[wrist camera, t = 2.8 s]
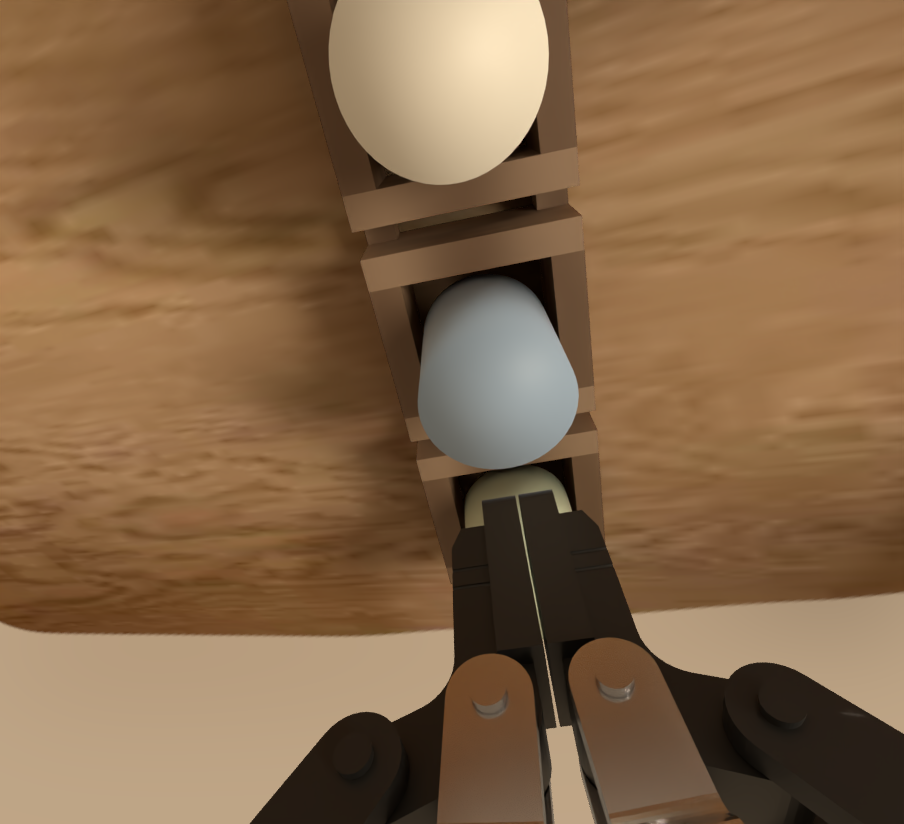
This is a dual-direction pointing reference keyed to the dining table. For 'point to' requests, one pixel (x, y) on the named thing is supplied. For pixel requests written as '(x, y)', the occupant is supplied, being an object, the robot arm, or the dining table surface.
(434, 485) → the wooden compartment tray
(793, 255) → the dining table surface
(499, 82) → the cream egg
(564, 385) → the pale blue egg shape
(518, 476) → the pale yellow rounded cylinder
